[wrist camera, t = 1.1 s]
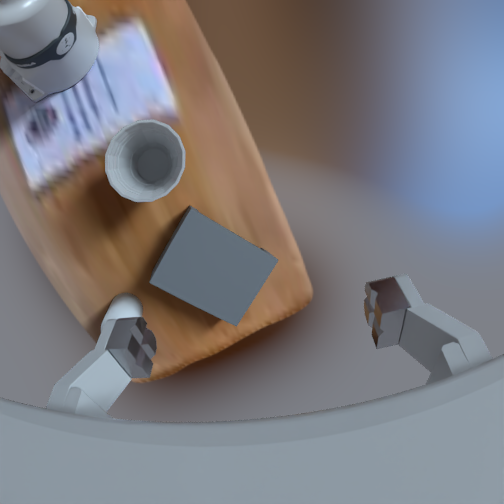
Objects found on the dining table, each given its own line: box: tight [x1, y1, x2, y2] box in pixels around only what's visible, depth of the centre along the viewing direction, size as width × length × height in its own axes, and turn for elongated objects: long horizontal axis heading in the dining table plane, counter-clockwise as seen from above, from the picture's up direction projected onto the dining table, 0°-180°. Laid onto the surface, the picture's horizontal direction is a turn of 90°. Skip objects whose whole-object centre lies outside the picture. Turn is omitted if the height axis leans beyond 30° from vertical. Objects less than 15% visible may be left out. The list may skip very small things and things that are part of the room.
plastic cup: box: [105, 120, 185, 202], centre depth 41 cm, size 11×11×12 cm
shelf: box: [149, 206, 278, 326], centre depth 50 cm, size 16×13×6 cm
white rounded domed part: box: [101, 293, 143, 332], centre depth 47 cm, size 6×6×9 cm
